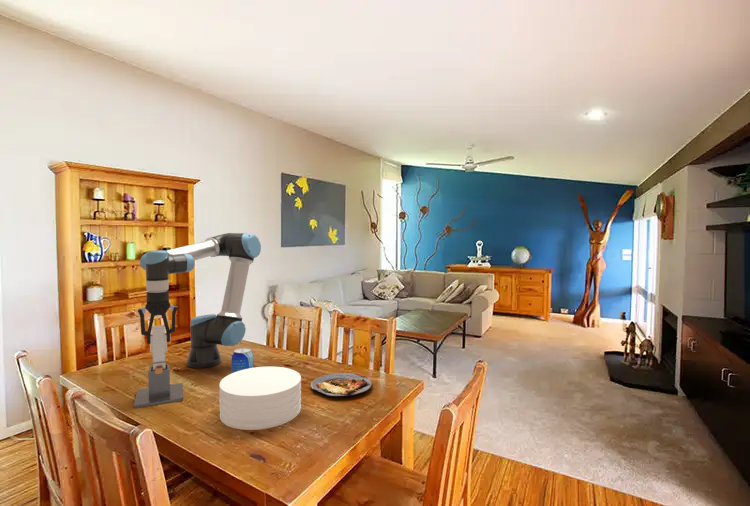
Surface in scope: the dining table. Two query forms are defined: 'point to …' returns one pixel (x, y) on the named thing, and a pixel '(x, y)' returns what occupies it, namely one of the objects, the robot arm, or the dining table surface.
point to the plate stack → (260, 397)
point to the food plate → (341, 384)
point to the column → (158, 347)
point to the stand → (159, 389)
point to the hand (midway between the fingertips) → (159, 351)
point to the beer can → (242, 359)
